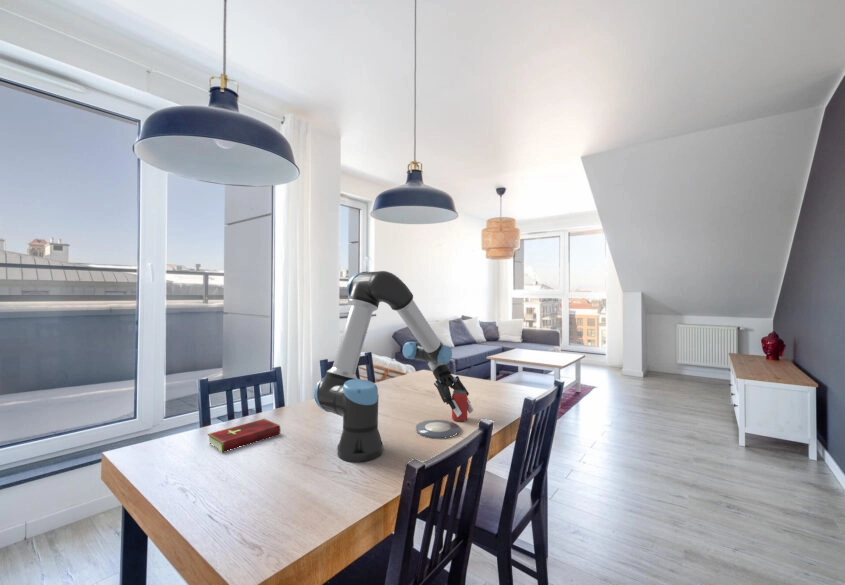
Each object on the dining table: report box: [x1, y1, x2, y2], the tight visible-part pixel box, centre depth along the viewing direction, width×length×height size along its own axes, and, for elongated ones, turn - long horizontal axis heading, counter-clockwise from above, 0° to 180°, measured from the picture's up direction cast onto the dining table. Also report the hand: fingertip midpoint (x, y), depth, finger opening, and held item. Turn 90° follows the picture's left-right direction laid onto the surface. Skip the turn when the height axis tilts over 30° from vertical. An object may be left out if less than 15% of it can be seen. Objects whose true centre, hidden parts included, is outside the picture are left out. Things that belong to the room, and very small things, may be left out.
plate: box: [415, 419, 460, 439], centre depth 145 cm, size 17×17×1 cm
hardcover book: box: [207, 418, 281, 453], centre depth 135 cm, size 12×21×4 cm, turn 141°
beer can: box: [451, 389, 468, 422], centre depth 158 cm, size 7×7×12 cm
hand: (465, 413), depth 155 cm, fingers closed on beer can, 7 cm apart
